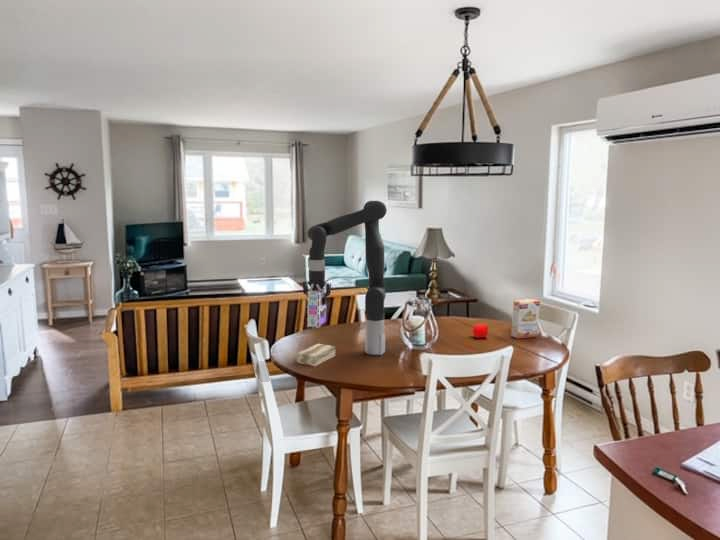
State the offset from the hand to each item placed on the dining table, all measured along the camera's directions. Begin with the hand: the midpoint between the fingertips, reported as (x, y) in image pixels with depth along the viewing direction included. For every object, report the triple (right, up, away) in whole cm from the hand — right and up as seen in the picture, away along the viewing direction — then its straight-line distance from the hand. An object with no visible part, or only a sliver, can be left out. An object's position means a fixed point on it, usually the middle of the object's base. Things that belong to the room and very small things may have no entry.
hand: (316, 304), depth 243 cm
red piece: (+87, -22, +46) cm, 101 cm away
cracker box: (+113, -22, +49) cm, 125 cm away
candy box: (0, -10, +1) cm, 10 cm away
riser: (0, -27, +4) cm, 27 cm away
